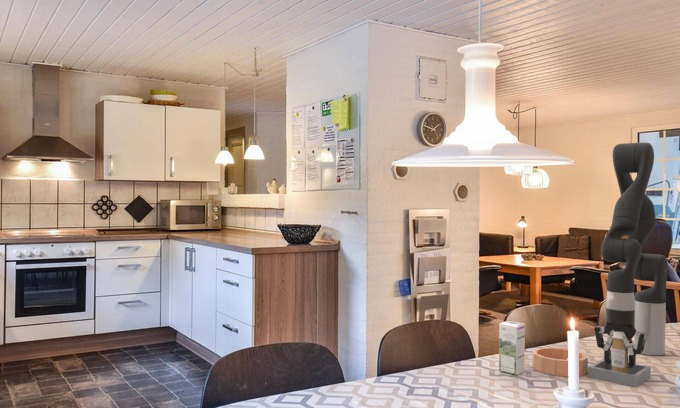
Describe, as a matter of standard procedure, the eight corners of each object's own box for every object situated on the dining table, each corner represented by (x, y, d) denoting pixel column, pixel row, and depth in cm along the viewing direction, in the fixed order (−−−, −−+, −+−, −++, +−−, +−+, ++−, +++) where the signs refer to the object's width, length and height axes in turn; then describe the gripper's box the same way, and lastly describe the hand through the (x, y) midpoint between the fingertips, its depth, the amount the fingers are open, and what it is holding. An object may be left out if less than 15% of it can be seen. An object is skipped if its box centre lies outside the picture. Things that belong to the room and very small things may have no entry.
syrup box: (525, 371, 175) (525, 322, 175) (516, 375, 171) (516, 325, 171) (507, 367, 179) (508, 320, 179) (498, 371, 175) (498, 322, 175)
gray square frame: (604, 368, 180) (604, 358, 180) (650, 377, 171) (650, 366, 171) (588, 377, 170) (588, 366, 170) (636, 387, 162) (636, 376, 162)
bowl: (545, 359, 190) (545, 345, 190) (594, 368, 179) (594, 353, 179) (523, 368, 178) (524, 353, 178) (575, 379, 168) (575, 363, 168)
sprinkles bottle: (631, 377, 170) (632, 331, 170) (622, 380, 168) (623, 333, 167) (616, 373, 174) (617, 328, 174) (607, 376, 171) (608, 330, 171)
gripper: (651, 308, 168) (650, 367, 169) (599, 302, 178) (598, 358, 178) (643, 312, 163) (642, 373, 163) (590, 305, 173) (589, 363, 173)
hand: (619, 365), depth 171 cm, fingers open, 5 cm apart
